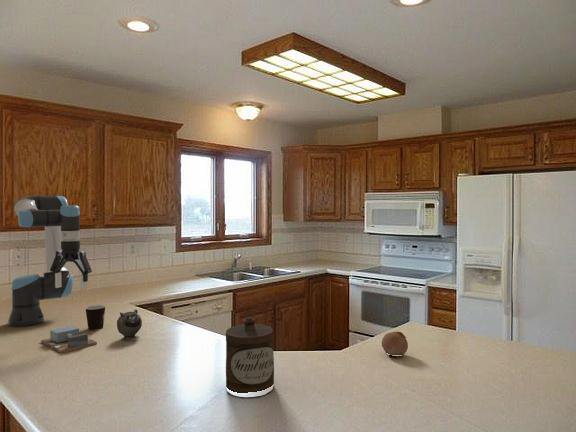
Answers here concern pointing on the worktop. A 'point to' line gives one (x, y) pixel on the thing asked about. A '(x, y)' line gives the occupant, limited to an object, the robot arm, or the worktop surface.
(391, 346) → the brown round lump
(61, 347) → the base
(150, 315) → the worktop surface
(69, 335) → the block
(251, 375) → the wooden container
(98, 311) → the coffee mug
